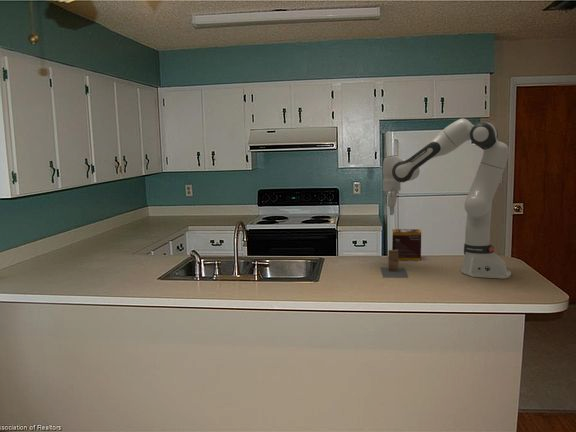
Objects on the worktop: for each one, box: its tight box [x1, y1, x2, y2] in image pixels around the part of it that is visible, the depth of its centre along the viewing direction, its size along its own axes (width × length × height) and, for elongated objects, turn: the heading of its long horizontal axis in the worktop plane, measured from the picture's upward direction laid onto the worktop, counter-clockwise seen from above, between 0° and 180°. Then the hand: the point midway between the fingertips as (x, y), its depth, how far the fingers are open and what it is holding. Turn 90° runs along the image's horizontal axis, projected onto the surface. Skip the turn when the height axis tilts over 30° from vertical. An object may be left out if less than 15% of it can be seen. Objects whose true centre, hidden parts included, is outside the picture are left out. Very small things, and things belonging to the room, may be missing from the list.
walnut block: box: [387, 249, 399, 271], centre depth 257 cm, size 4×4×10 cm
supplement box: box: [391, 228, 422, 262], centre depth 284 cm, size 10×15×16 cm
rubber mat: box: [380, 266, 409, 279], centre depth 254 cm, size 20×12×1 cm, turn 173°
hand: (392, 214), depth 267 cm, fingers open, 8 cm apart
